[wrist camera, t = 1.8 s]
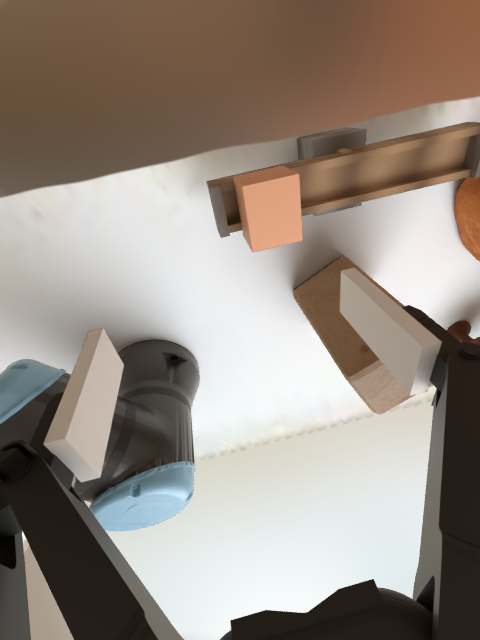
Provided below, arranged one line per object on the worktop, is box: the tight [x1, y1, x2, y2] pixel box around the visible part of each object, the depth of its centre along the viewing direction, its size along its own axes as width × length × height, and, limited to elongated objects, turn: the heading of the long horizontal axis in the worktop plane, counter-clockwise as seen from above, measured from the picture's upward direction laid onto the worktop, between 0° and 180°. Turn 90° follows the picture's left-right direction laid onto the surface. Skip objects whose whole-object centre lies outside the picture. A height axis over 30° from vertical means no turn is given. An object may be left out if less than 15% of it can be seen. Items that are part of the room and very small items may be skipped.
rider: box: [233, 166, 303, 252], centre depth 30 cm, size 5×6×6 cm
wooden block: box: [293, 257, 433, 414], centre depth 41 cm, size 10×10×20 cm
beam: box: [207, 122, 480, 238], centre depth 35 cm, size 30×8×9 cm, turn 100°
